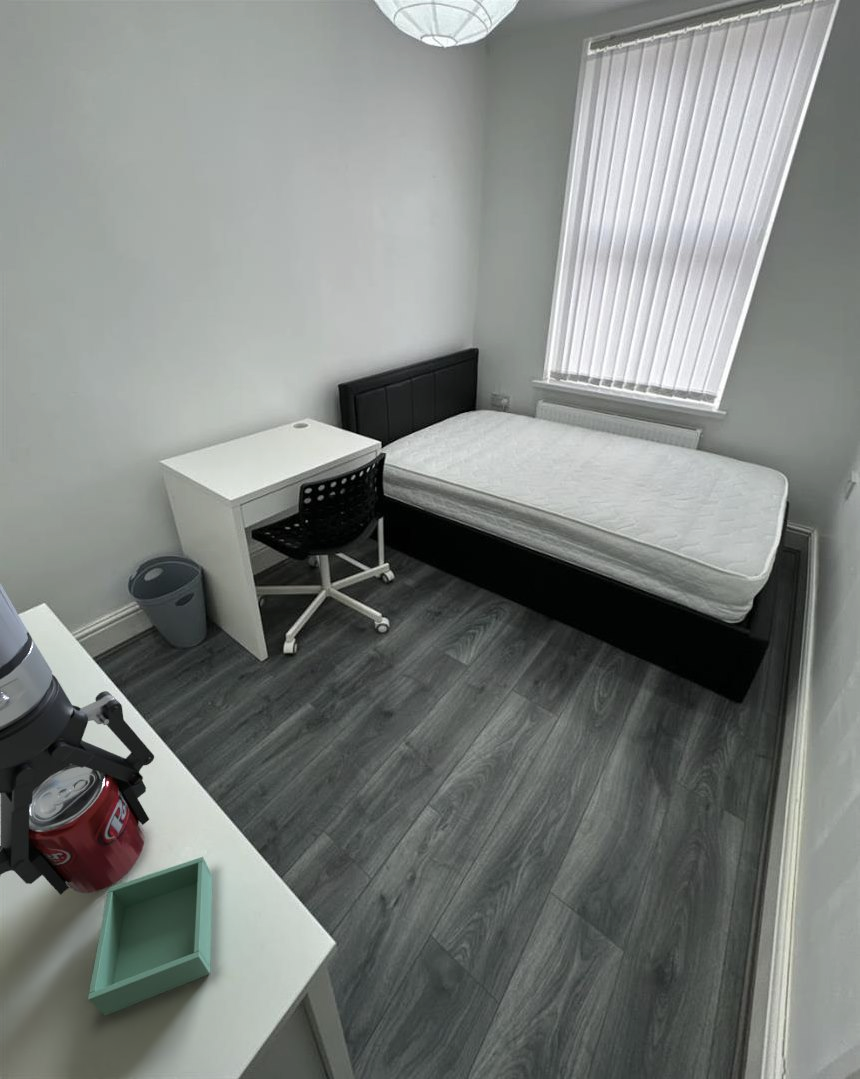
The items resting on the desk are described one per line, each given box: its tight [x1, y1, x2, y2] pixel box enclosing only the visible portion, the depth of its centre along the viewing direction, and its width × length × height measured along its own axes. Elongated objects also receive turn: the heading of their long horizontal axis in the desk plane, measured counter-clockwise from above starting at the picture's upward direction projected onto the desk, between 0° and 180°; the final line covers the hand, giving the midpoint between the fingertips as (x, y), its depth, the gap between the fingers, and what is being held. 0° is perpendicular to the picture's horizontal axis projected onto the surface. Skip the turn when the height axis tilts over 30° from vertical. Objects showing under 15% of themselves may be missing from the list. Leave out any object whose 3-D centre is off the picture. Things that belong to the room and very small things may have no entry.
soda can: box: [29, 764, 146, 894], centre depth 47 cm, size 7×7×12 cm
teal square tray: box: [87, 856, 213, 1016], centre depth 59 cm, size 11×11×6 cm
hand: (101, 846), depth 50 cm, fingers closed on soda can, 7 cm apart
